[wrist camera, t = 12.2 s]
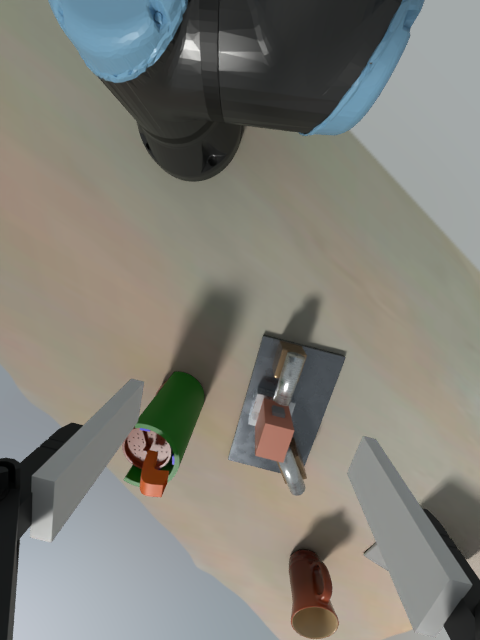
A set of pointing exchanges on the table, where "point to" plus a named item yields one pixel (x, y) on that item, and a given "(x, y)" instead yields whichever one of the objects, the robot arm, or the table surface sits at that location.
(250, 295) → the table surface
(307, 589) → the mug
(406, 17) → the robot arm
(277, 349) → the base plate
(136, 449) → the motor
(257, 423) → the block
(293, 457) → the shaft
